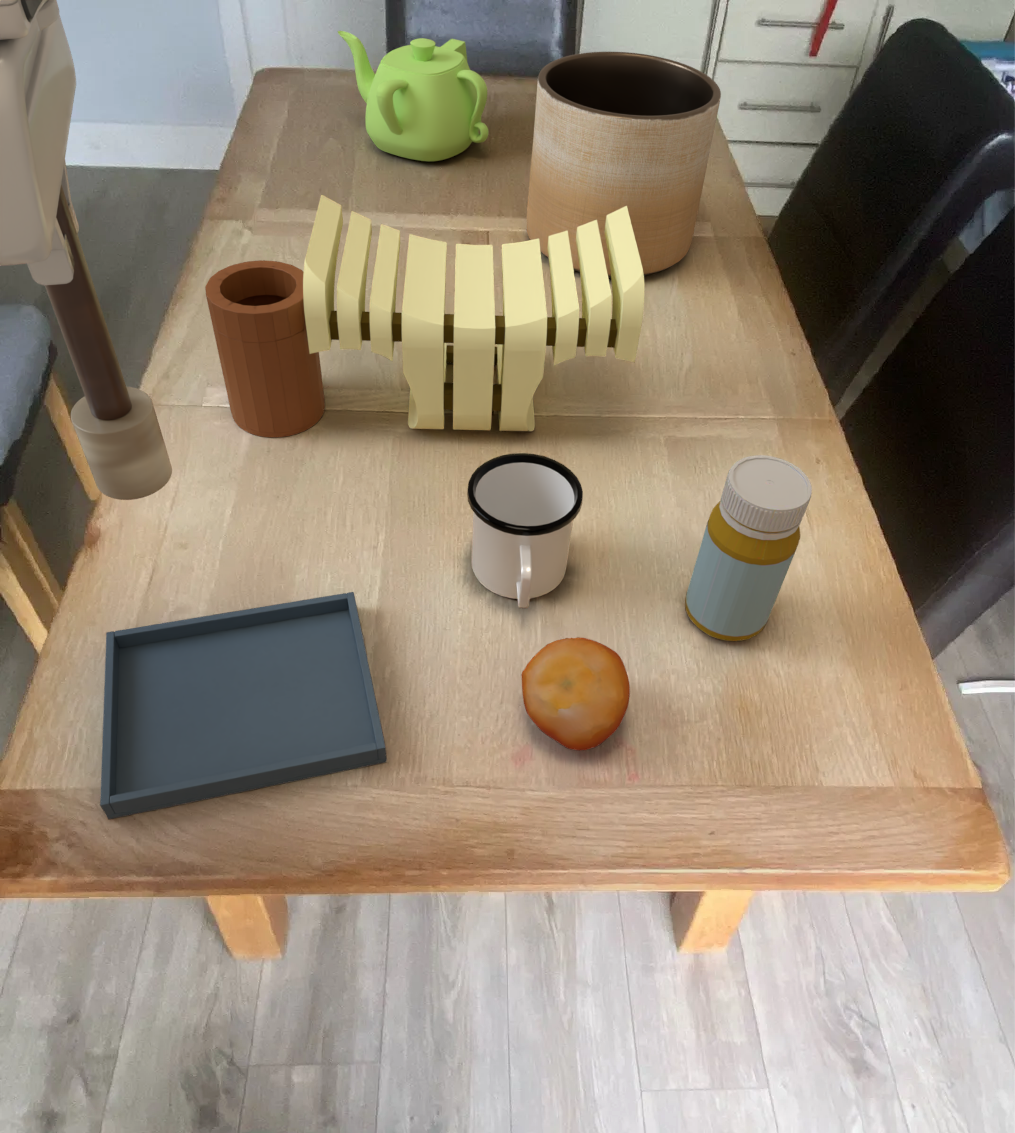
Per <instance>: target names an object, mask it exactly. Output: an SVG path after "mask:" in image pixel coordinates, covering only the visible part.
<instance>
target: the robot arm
mask: <svg viewBox="0 0 1015 1133" xmlns="http://www.w3.org/2000/svg"><path fill="white" fill-rule="evenodd" d="M76 88H77V76H76V69H75V64H74V59H73V55H72V51H71V47H70V44H69V42H68V38H67V34H66V31H65V27H64V25H63V22H62V17H61V15H60V8H59V4H58V1H57V0H0V267H5V266H6V267H8V266H16V265H27V267H28V270H29V273H30V276H31V278H32V280H33V281H34V282H35V283H36V284H38V285H40V286H44V287H45V285H57V284H67V283H69V282H71V281H72V279H73V273H74V264H75V260H74V257H73V254H72V253H71V248H70V245H69V242H68V239H67V236H66V233H65V234H62V232H61V229H60V226H59V224H58V221H57V218H56V214H57V208H58V201H59V194H60V188H61V184H62V187H63V190H64V194H65V197H66V200H67V203H68V206H69V209H70V212H71V215H72V219H73V222H74V225H75V228H76V231H77V234H78V235H79V229H80V225H79V221H78V218H77V214H76V211H75V208H74V204H73V202H72V199H71V198H72V196H71V189H70V183H69V176H68V169H67V163H66V155H67V149H68V142H69V134H70V128H71V127H70V126H71V122H72V115H73V108H74V102H75V95H76Z"/></svg>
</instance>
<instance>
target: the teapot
mask: <svg viewBox="0 0 1015 1133" xmlns="http://www.w3.org/2000/svg"><path fill="white" fill-rule="evenodd" d="M337 34H338V35H339V36H340V37H341V38H342V39H343V40H344V41H345V43H346V45H347V46H348V47H349V49H350V52H351V56H352V58H353V63H354V64H353V65H354V71H355V80H356V85H357V90H358V92H359V95H360V96H361V98H362V100H363V101H364V102H365V104H366V107H365V118H364V120H365V121H364V122H365V130H366V133H367V135H368V136H369V138H370V139H371V141H372V143H373V144H374V145H375V146H376V148H377V149H379V150H381V151H383V152H385V153H388V154H391V155H394V156H398V157H401V158H405V159H409V160H415V161H419V162H420V161H421V162H438V161H443V160H447V159H450V158H453V157H454V156H457V155H459V154H462V153H463V152H464V151H466V150H467V149H468V148H469V147H470V146H471V144H472V143H476V144H481V143H484V142H486V140H487V139H488V138H489V127H488V126H487V125H486V124H485V123H484V122H482V117H483V116H482V115H483V114H484V111H485V107H486V104H487V100H488V86H487V84H486V81H485V80H484V79H483V77H482V75H480V74H479V73H478V72H476V71H474V70H471V67H470V66H469V63H468V54H467V44H466V41H464V40H460V39H455V38H450V39H449V40H448V41H446V42H444V43H443V44H442V45H441V46H437V45H436V41H434V40H433V39H429V38H423V37H421V38H414V39H412V40H410V42H409V44H407V45H403V46H400V47H397V48H395V49H393V50H391V51H389V52H388V53H386V54H385V55H384V56H383V57H382V59H381V60H380V62H379V64H378V66H377V69H376V72H374V70H373V68H372V65H371V63H370V59H369V57H368V53H367V50H366V48H365V46H364V44H363V42H362V41H361V40H360V39H359V37H357V36H356V35H355V34H352V33H351V32H348V31H344V30H337Z"/></svg>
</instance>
